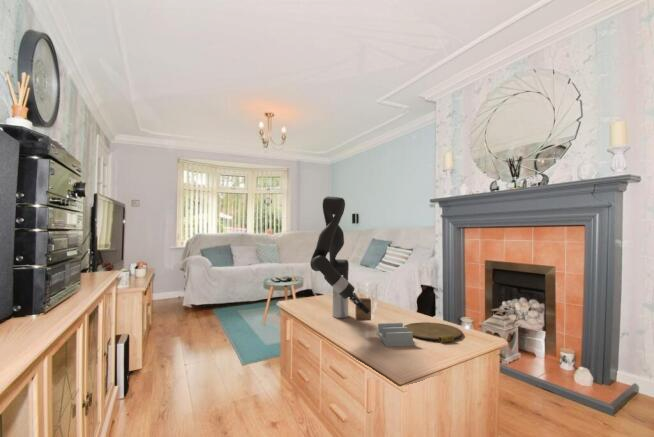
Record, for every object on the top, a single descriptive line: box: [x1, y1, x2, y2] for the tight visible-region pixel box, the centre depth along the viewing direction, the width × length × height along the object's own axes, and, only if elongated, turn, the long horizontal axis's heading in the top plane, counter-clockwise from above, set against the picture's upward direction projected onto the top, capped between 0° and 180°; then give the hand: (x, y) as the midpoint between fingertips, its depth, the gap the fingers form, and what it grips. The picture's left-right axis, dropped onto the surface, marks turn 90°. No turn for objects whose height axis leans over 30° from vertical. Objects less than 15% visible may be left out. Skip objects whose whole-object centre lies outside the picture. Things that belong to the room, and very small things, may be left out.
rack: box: [376, 322, 416, 348], centre depth 146 cm, size 16×13×6 cm
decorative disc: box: [403, 321, 464, 344], centre depth 156 cm, size 29×3×30 cm
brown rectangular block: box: [355, 297, 372, 322], centre depth 154 cm, size 4×7×10 cm, turn 95°
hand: (367, 311), depth 154 cm, fingers closed on brown rectangular block, 3 cm apart
